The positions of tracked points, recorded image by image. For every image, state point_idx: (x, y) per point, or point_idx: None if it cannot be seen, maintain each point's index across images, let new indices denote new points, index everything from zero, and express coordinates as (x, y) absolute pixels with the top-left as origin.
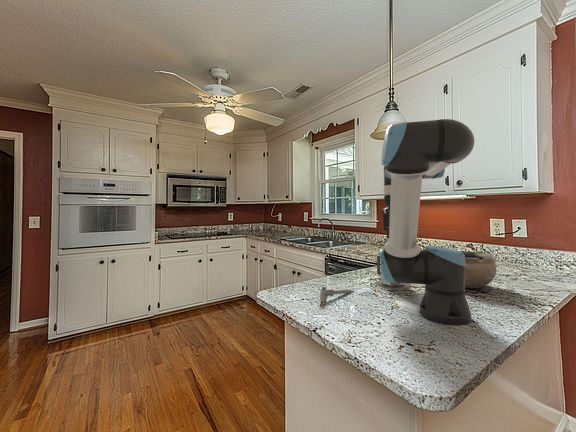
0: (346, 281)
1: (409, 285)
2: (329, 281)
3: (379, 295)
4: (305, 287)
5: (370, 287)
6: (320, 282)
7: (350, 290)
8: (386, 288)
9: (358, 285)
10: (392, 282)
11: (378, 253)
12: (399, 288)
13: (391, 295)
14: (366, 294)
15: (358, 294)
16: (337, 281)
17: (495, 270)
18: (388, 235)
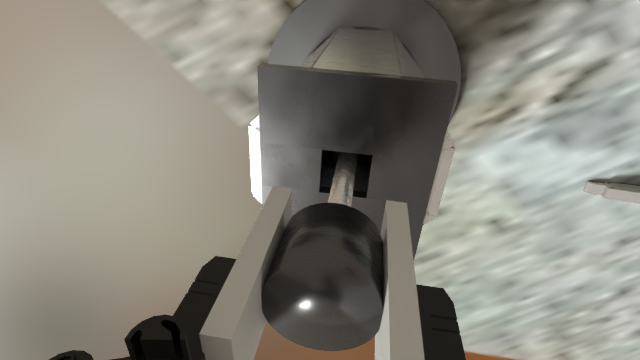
0: (433, 268)
1: (315, 7)
2: (479, 311)
3: (581, 58)
4: (625, 335)
5: (460, 156)
6: (517, 327)
7: (617, 188)
8: (460, 78)
9: (462, 208)
10: (420, 70)
11: (413, 257)
12: (416, 22)
13: (544, 7)
14: (598, 116)
15: (619, 144)
16: (458, 291)
17: None
18: (454, 342)
